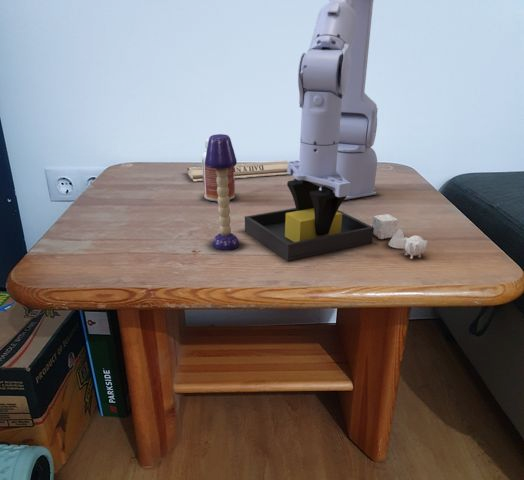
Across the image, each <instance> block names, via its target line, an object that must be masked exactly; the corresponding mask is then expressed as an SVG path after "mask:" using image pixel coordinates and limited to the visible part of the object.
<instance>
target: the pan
mask: <svg viewBox="0 0 524 480" xmlns="http://www.w3.org/2000/svg"><path fill="white" fill-rule="evenodd" d="M295 211H296V207H294V208H293V207H292V208H287V209H280V210H275V211H269V212H263V213H258V214H257V213H256V214H252V215H246V216H244V232H245V233H247V234H248V235H249V236H251V237H252V238H254V239H255V240H257V241H258V242H260V243H261V244H262V245H264V246H265V247H267V248H268V249H269V250H271V251H272V252H274V253H276V255H279V256H280V257H281V258H282V259H284V260H285V261H287V262H290V261H296V260H299V259H303V258H308V257H313V256H318V255H322V254H327V253H331V252H336V251H340V250H344V249H349V248H354V247H358V246H363V245H368V244H372V243H373V239H374V234H373V231H374V227H372V225H370V224H367V223H365V222H364V221H361V220H360V219H357V218H355V217H353V216H351V215H349V214H348V213H346V212H343V211H341V210H339V209H338V210H337V211H338V212H340V213H342V224H341V233H338V234H333V235H328V236H323V237H318V238H313V239H308V240H303V241H298V242H293V241H291V240H290V239H288V238H286V237H285V221H286V213H289V212H295Z"/></svg>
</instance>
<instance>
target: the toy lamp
mask: <svg viewBox="0 0 524 480" xmlns="http://www.w3.org/2000/svg"><path fill="white" fill-rule="evenodd" d="M208 138H209V141H208V147H207V148H206V151H207V153H206V159H205V164H206V166H207V167H209V168H213V169H216V174H217V179H216V182H217V185H218V187H217V194H218V202H217V204H218V209H217V212H218V215H219V216H218V223H219V233H218V234H216V235H215V237H214V238H213V240H212V247H213V248H215V249H217V250H221V251H230V250H234V249H237V248H238V247H239V246H240V241H239V238H238V237H237V236H236V235H235V234H234V233H232V231H231V230H232V229H231V228H232V227H231V225H230V224H231V217H230V213H231V209H230V208H231V207H230V200H229V197H228V194H229V189H228V186H227V185H228V177H227V174H228V168H231V167H233V166H235V165H236V164H238V163H237V157H236V154H235V153H236V152H235V150H234V146H233V143H232V139H231V137H230V136H229V135H228V134H223V133H218V134H212V135H210V136H209V137H208Z"/></svg>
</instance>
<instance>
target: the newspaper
mask: <svg viewBox="0 0 524 480" xmlns="http://www.w3.org/2000/svg"><path fill="white" fill-rule="evenodd" d="M288 162H289V161H288V160H278V161H277V160H275V161H266V162H265V161H264V162H250V163H236V165H235V166H234V178H235V179H241V178H242V179H243V178H245V179H246V178H257V177H267V176H269V177H270V176H282V175H283V176H284V175H288V174H287V165H288ZM186 172H187V175H188V177H189V178H190V179H191V180H192V181H193V182H203V167H202V166H194V167H186Z"/></svg>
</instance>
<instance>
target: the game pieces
mask: <svg viewBox="0 0 524 480" xmlns="http://www.w3.org/2000/svg"><path fill="white" fill-rule="evenodd" d="M398 224H399V220H398V218H396V217H394V216H392V215H391V214H389V213H385V214H379V215H377V214H376V215H374V216H373V217H372V225H371V226H372V227H374V231H373V236H375V237H377V239H379V240H384V239H390V240H389V242H388V243H387V244H388V246H389V247H391V248H393V249H403V251H405V253H404V256H409V255H410V257H409V259H414V256H417V258H421V257H422V254H425V253H424V252H425V251H426V248H427V245H428V240H425V239H423V237H422V236H420V235H416V234H415V235H411V236H410V237H407V236H404V231H403V230H402V229H401V228H398Z"/></svg>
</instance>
